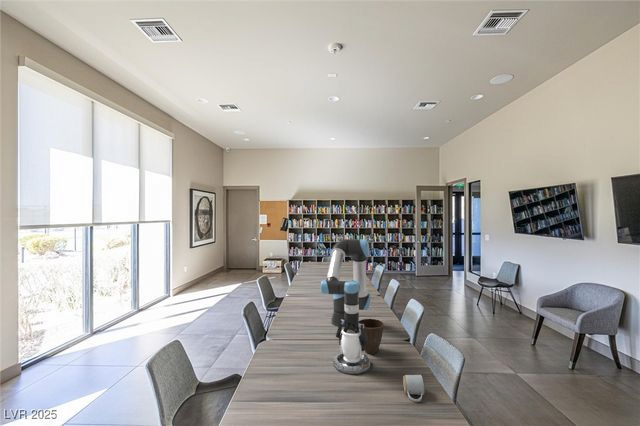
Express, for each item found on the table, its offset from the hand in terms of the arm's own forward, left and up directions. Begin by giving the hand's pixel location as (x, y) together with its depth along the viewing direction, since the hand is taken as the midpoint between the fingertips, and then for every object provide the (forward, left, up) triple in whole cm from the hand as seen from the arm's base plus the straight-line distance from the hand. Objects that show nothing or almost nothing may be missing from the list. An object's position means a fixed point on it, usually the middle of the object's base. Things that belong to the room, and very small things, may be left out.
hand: (351, 354), depth 153 cm
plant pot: (-3, +20, -6) cm, 21 cm away
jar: (0, 0, -3) cm, 3 cm away
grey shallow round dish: (0, 0, -6) cm, 6 cm away
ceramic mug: (+36, +1, -6) cm, 36 cm away
